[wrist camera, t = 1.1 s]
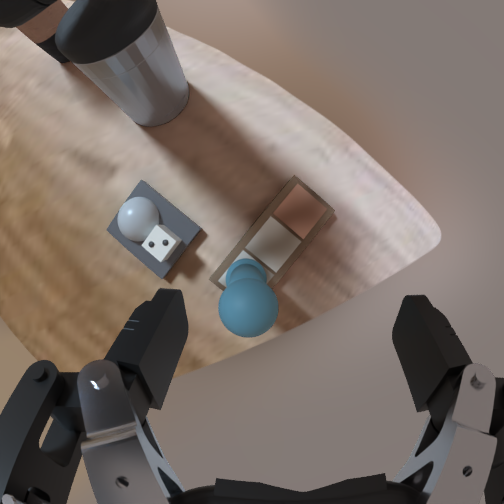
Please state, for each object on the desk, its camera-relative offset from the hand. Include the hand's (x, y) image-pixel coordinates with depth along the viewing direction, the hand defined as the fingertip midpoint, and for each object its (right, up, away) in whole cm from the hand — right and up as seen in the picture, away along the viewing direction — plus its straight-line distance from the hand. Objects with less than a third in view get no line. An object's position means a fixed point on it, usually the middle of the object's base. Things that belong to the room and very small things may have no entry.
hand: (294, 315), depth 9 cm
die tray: (-14, +5, +26) cm, 30 cm away
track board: (+1, +3, +25) cm, 25 cm away
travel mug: (-34, +39, +21) cm, 56 cm away
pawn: (-2, -1, +24) cm, 24 cm away
